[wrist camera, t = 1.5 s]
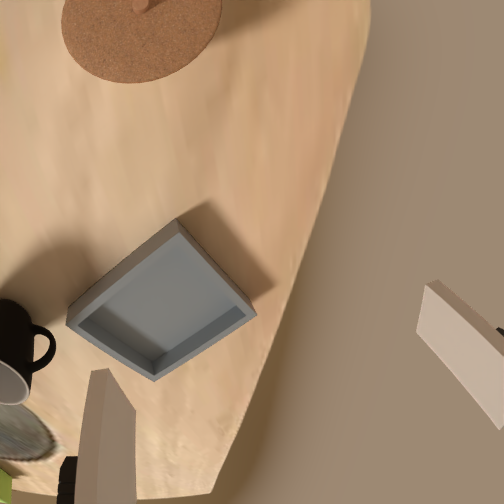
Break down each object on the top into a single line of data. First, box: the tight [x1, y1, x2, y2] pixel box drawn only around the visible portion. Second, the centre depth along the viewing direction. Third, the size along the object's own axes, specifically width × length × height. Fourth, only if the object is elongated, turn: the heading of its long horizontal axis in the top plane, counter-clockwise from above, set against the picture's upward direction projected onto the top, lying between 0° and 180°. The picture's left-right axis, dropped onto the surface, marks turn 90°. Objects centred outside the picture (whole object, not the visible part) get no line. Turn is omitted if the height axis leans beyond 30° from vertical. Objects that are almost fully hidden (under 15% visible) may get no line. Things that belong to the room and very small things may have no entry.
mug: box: [0, 299, 56, 405], centre depth 27 cm, size 12×9×10 cm
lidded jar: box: [61, 0, 222, 83], centre depth 17 cm, size 11×11×9 cm
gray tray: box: [65, 218, 257, 382], centre depth 36 cm, size 15×17×3 cm
